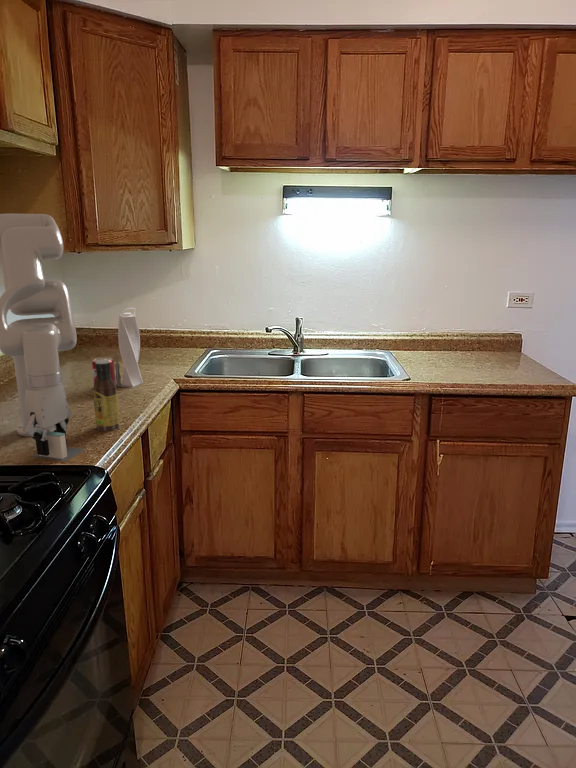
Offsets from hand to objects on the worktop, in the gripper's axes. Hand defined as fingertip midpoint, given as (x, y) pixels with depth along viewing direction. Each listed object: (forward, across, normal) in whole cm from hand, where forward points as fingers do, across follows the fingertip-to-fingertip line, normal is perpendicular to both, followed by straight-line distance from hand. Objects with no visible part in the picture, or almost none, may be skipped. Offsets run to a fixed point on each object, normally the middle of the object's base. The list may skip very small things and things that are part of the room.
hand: (52, 449), depth 143 cm
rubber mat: (+2, -2, 0) cm, 3 cm away
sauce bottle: (+3, -22, 0) cm, 22 cm away
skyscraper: (+3, -66, -20) cm, 69 cm away
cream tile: (+2, 0, 0) cm, 2 cm away
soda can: (+3, -53, -22) cm, 58 cm away
